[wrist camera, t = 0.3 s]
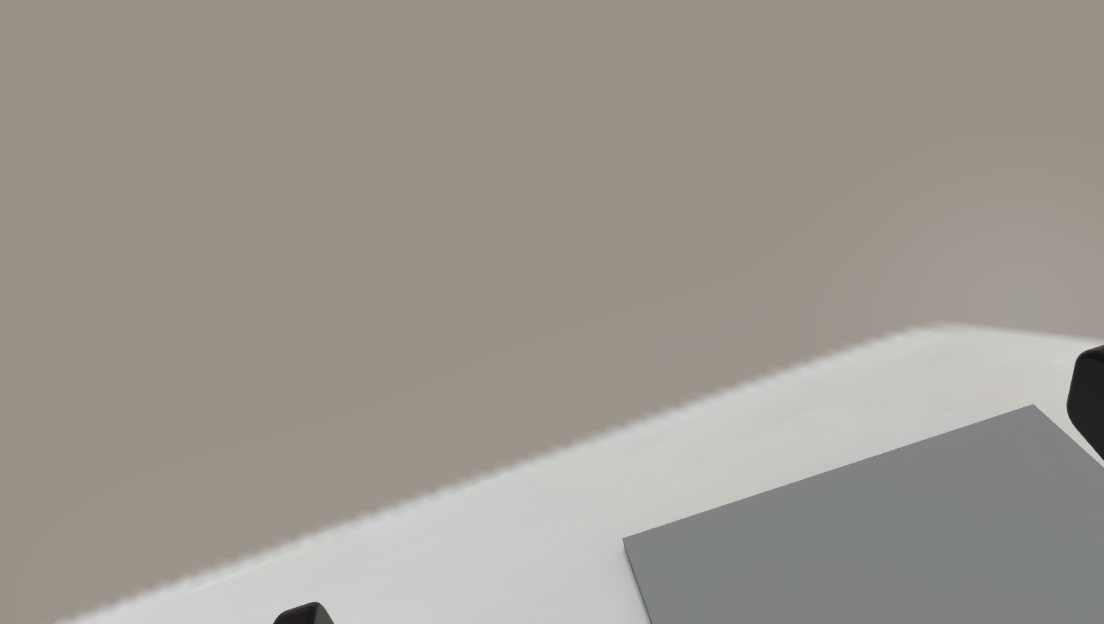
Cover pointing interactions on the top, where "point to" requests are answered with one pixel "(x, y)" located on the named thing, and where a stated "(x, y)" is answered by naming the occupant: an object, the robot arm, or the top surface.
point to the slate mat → (898, 539)
